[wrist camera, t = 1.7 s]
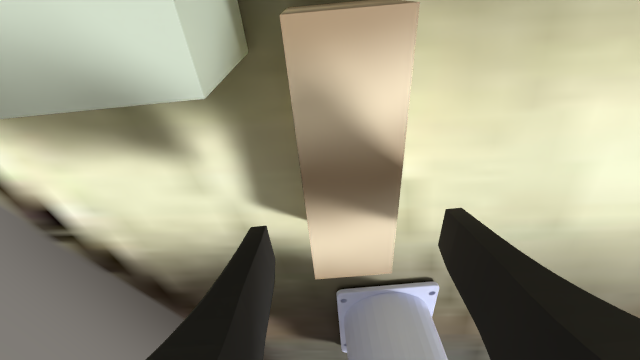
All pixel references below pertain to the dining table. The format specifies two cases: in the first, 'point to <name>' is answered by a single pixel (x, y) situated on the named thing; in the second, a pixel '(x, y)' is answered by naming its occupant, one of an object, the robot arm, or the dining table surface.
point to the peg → (351, 126)
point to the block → (113, 53)
